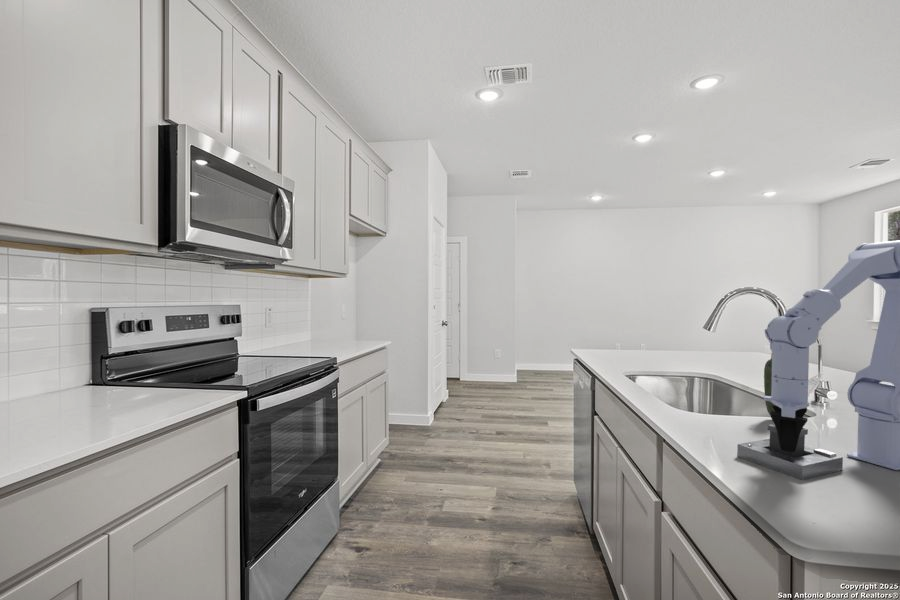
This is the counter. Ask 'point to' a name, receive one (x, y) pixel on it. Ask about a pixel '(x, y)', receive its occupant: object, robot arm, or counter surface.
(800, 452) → the plug
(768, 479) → the counter surface
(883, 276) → the robot arm
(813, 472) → the socket plate
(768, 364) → the vegetable
